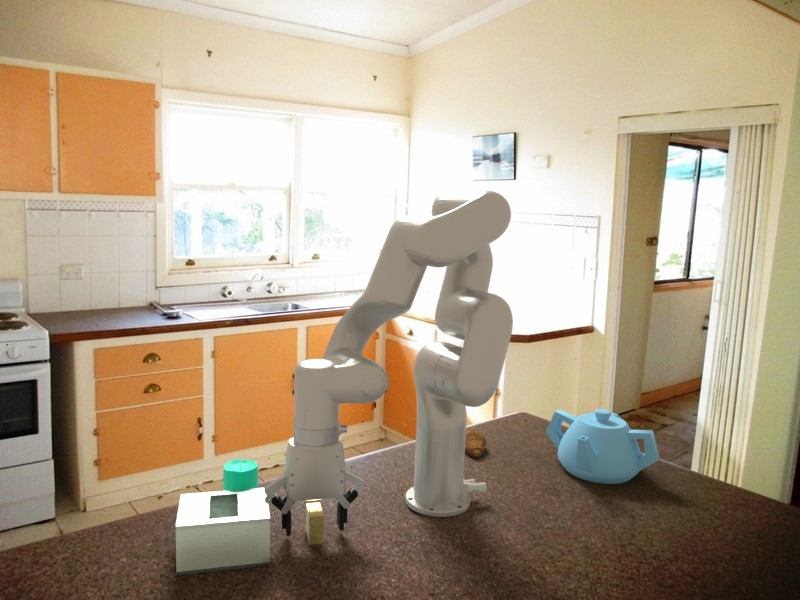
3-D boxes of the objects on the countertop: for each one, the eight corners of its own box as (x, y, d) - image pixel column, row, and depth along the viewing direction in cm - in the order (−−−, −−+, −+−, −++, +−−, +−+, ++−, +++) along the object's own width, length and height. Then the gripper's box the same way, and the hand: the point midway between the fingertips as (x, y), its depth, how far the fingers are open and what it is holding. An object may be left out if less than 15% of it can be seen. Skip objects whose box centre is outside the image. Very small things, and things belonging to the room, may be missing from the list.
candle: (249, 530, 112) (249, 465, 110) (217, 526, 113) (217, 461, 111) (263, 514, 117) (263, 452, 116) (233, 510, 119) (232, 448, 117)
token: (319, 528, 113) (319, 502, 113) (323, 543, 109) (323, 515, 108) (305, 530, 113) (306, 503, 112) (309, 544, 108) (309, 517, 107)
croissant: (492, 461, 147) (493, 440, 146) (462, 461, 146) (464, 440, 145) (479, 439, 160) (481, 419, 159) (453, 439, 159) (454, 419, 159)
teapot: (544, 453, 151) (549, 397, 149) (621, 453, 154) (627, 397, 152) (575, 490, 133) (581, 426, 130) (662, 489, 135) (669, 426, 133)
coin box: (265, 530, 112) (266, 487, 111) (269, 565, 101) (270, 518, 100) (181, 538, 108) (180, 494, 107) (176, 575, 98) (175, 526, 97)
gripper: (362, 422, 114) (359, 514, 116) (262, 428, 109) (261, 523, 112) (371, 438, 106) (368, 535, 109) (264, 444, 102) (264, 546, 105)
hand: (314, 529), depth 110 cm, fingers open, 8 cm apart
